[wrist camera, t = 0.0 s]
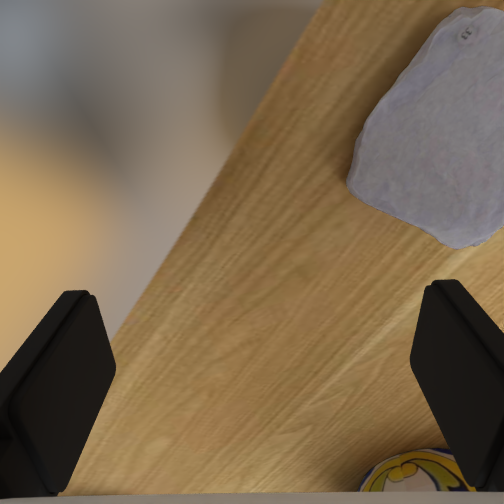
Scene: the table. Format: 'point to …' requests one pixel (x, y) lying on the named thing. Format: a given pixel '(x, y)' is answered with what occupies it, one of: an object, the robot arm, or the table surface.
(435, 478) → the table lamp
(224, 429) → the table surface
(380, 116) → the stone block
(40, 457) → the robot arm
